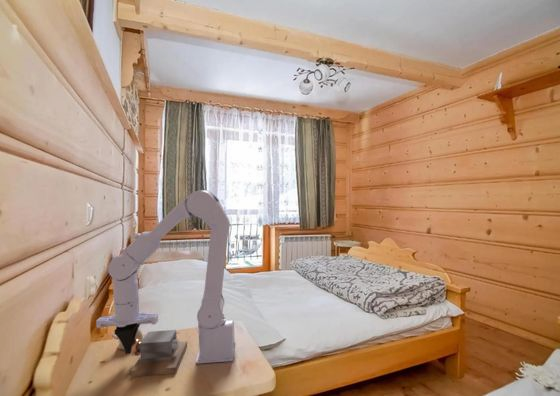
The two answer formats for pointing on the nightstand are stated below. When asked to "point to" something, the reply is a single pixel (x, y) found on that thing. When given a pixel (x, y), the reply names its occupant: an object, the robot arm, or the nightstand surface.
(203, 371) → the nightstand surface
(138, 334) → the cream ribbed curved piece
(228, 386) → the nightstand surface
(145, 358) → the housing
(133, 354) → the shaft
